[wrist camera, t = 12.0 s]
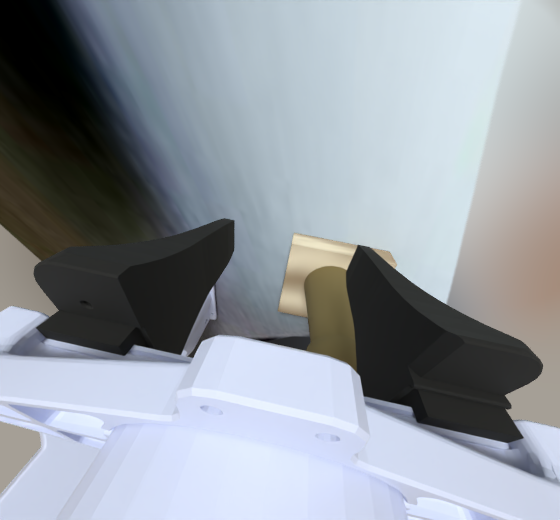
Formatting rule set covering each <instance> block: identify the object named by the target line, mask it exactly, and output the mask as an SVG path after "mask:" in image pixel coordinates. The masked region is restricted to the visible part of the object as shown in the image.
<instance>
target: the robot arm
mask: <svg viewBox="0 0 560 520" xmlns="http://www.w3.org/2000/svg"><path fill="white" fill-rule="evenodd" d="M233 252H234V220H230V219H225V218H224V219H220V220H217V221H214V222H212V223H209V224H207V225H204V226H201V227H199V228H196V229H193V230H190V231H187V232H184V233H181V234H177V235H174V236H170V237H165V238H161V239H156V240H150V241H144V242H138V243H130V244H120V245H107V246H83V247H69V248H67V249H65V250H63V251H61V252H59V253H57V254H55V255H53V256H51V257H49V258H47V259H45V260H43V261H41V262H39V263H38V264H37V265H36V266H35V268H34V277H35V280H36V282H37V283H38V285H39V286H40V288H41V289H42V290H43V291H44V293H45V294H46V295H47V296H48V297H49V299H50V300H51V301H52V302H53V303H54V305H55V306H56V307H57V309H58V310H59V311H58V312H56V313H55V314H54V315H52V316H51V317H49V316H48V315H46V314H44V313H41V312H38V311H34V310H29V309H25V308H20V307H16V306H10V307H8V308H6V309H5V310H3V311H2V312H0V421H1V422H5V423H9V424H12V425H16V426H20V427H23V428H27V429H31V430H34V431H37V432H39V433H40V438H41V447H40V449H39V450H38V451H37V452H36V453H35V454H34V456H33V457H32V458H31V459H30V460H29V461H28V463H27V464H26V465H25V466H24V467H23V468H22V470H21V471H20V472H19V473H18V474H17V475H16V477H15V478H14V479H13V480H12V481H11V483H10V484H9V485H8V486H7V487H6V488H5V490H4V491H3V492H2V493H1V494H0V520H560V428H558V427H555V426H550V425H546V424H541V423H537V422H532V421H528V420H512V419H511V417H510V416H509V414H508V413H507V411H506V410H505V409H511V404H510V403H509V401H508V400H507V398H506V397H505V395H506V394H508V393H510V392H512V391H514V390H516V389H519V388H521V387H523V386H525V385H527V384H529V383H530V382H532V381H534V380H535V379H537V378H538V376H539V375H540V374H541V372H542V369H543V364H542V362H541V361H540V359H539V358H538V357H537V356H536V355H535V354H534V353H533V352H532V351H531V350H530V349H529V347H528V346H526V344H524V343H523V342H522V341H520V340H518V339H516V338H514V337H511V336H509V335H507V334H505V333H503V332H500V331H498V330H496V329H493V328H491V327H489V326H487V325H484V324H482V323H480V322H478V321H476V320H474V319H472V318H470V317H468V316H466V315H464V314H462V313H460V312H459V311H457V310H455V309H453V308H451V307H449V306H448V305H446V304H444V303H443V302H441V301H439V300H437V299H436V298H434V297H433V296H431V295H429V294H428V293H426V292H425V291H423V290H422V289H420V288H419V287H418V286H416V285H415V284H413V283H412V282H411V281H409V280H408V279H407V278H405V277H404V276H403V275H402V274H400V273H399V272H398V271H397V270H396V269H394V268H393V267H392V266H391V265H390V264H389V263H387V262H386V261H385V260H384V259H383V258H382V257H381V256H380V255H378V254H377V253H376V252H375V251H374V250H372V249H371V248H370V247H366V246H361V245H358V246H357V248H356V251H355V253H354V255H353V257H352V260H351V262H350V264H349V266H348V269H347V271H346V288H347V293H348V298H349V303H350V308H351V313H352V318H353V323H354V332H355V344H356V363H357V373H356V372H355V370H354V369H353V368H352V367H351V366H350V365H349V364H347V363H346V362H343V361H340V360H338V359H335V358H333V357H330V356H326V355H322V354H317V353H313V352H308V351H304V350H299V349H294V348H290V347H285V346H280V345H276V344H272V343H267V342H262V341H258V340H253V339H249V338H244V337H240V336H229V335H217V336H214V337H212V338H209V339H207V340H204V341H202V342H201V344H200V346H199V348H198V350H197V352H196V354H195V356H194V358H191V357H187V356H188V355H189V354H190V353H191V352H192V351H193V350H194V348H195V346H196V344H197V342H198V341H199V339H200V337H201V335H202V333H203V331H204V329H205V327H206V325H207V324H208V322H209V320H210V319H213V320H215V319H216V318H217V313H216V301H215V288H214V285H215V283H216V282H217V280H218V278H219V277H220V275H221V274H222V272H223V271H224V269H225V268H226V266H227V264H228V263H229V261H230V259H231V256H232V254H233Z"/></svg>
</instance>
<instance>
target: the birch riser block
mask: <svg viewBox="0 0 560 520" xmlns="http://www.w3.org/2000/svg"><path fill="white" fill-rule="evenodd" d="M357 246H358V245H353V244H348V243H343V242H338V241H333V240H328V239H323V238H318V237H313V236H307V235H302V234H297V233H294V235H293V240H292V245H291V250H290V254H289V259H288V264H287V269H286V274H285V279H284V283H283V288H282V293H281V298H280V303H279V308H278V311H279V312H283V313H288V314H293V315H297V316H302V317H307V318H308V315H307V307H306V298H305V290H304V282H305V279H306V277H307V276H308V275H309V273H311V272H312V271H314V270H315V269H318V268H321V267H324V266H336V267H341V268H343V269H346V270H347V269H348V266H349V264H350V262H351V260H352V257H353V255H354V253H355V251H356V248H357ZM371 249H372V250H374V251H375V252H376V253H377V254H378V255H380V256H381V257H382V258H383V259H384V260H385V261H386V262H387V263H389V264H390V265H391V266H392V267H393V268H394V269H395V267H396V266H397V264H396V262H395V260H394V258H393V257H392V255H391V253H390V252H388V251H383V250H378V249H373V248H371Z"/></svg>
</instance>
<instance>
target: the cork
mask: <svg viewBox="0 0 560 520" xmlns="http://www.w3.org/2000/svg"><path fill="white" fill-rule="evenodd" d="M346 271H347V270H346V269H343V268H341V267H336V266H324V267H321V268H318V269H315V270H314V271H312V272H311V273H309V275H308V276H307V277H306V279H305V282H304V290H305V298H306V307H307V315H308V323H309V332H310V340H311V343H310V344H309V345H308V347H307V350H306V351H308V352H313V353H317V354H322V355H326V356H330V357H333V358H335V359H338V360H340V361H343V362H346V363H347V364H349V365H350V366H351V367H352V368H353V369H354V370H355V372H356V373H357V363H356V344H355V332H354V323H353V318H352V313H351V308H350V303H349V298H348V293H347V288H346Z"/></svg>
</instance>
